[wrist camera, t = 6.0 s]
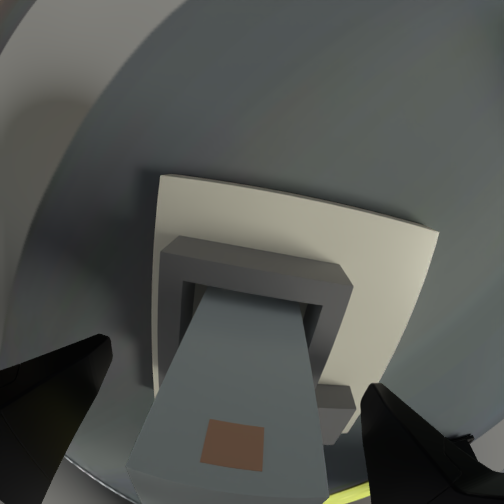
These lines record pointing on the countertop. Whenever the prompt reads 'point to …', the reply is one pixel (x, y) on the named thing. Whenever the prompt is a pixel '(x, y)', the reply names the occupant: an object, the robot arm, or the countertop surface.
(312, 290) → the board
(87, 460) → the countertop surface
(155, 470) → the plug
